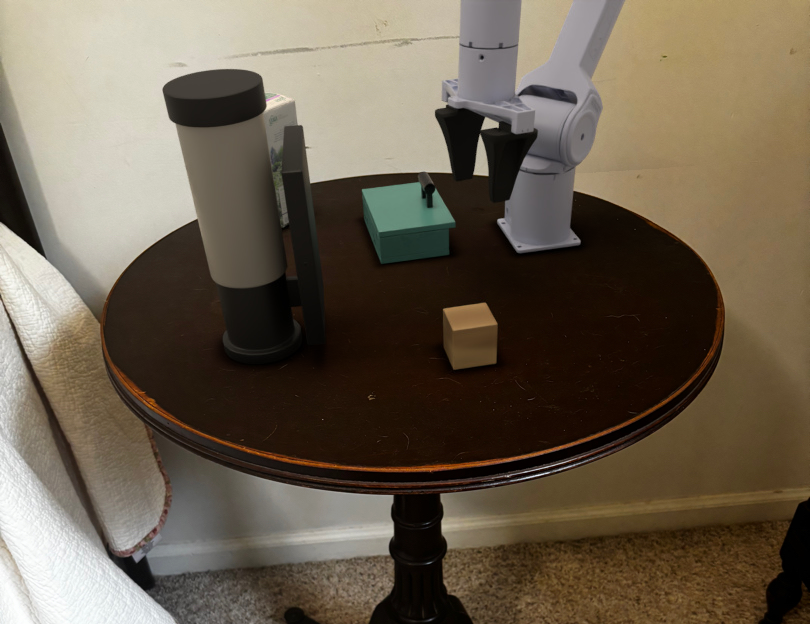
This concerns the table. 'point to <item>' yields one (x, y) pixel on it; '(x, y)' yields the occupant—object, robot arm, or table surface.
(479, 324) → the block
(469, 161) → the robot arm
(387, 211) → the lid
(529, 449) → the table surface
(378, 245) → the teal box base
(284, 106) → the syrup box
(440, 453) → the table surface
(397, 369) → the table surface
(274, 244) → the light fixture
